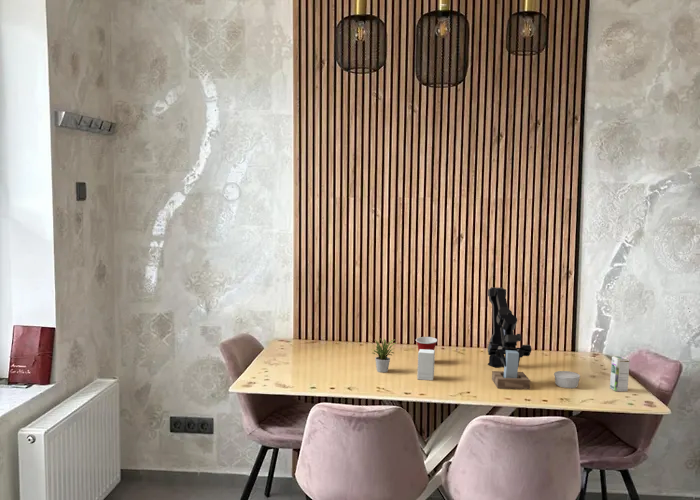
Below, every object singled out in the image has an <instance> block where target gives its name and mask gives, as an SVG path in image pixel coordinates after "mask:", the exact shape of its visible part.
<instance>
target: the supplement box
mask: <svg viewBox="0 0 700 500" xmlns="http://www.w3.org/2000/svg"><path fill="white" fill-rule="evenodd" d="M435 353H436V351H435V349H434V350H426V349H419V351H418V353H417V375H416V376H417V377H416V378H417V380H421V381H422V380H424V381H434V376H435V358H436V356H435Z"/></svg>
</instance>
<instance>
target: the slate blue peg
mask: <svg viewBox="0 0 700 500" xmlns="http://www.w3.org/2000/svg"><path fill="white" fill-rule="evenodd" d="M504 356H505V360H506V367H505V366H503V367H504V368H503V371H504V378H517V373H518V372H519V370H518V369H519V366H518V360H519V353H518V352H517V351H512V350H506V351H505V354H504Z"/></svg>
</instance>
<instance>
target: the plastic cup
mask: <svg viewBox="0 0 700 500" xmlns="http://www.w3.org/2000/svg"><path fill="white" fill-rule="evenodd" d="M415 341H416V344H417V350H418V352H419V349H426V350H435V349H436V345H437V342H438V339H437V338H436V337H432V336H422V337H421V336H419V337H417V338H416V339H415Z"/></svg>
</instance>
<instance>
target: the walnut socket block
mask: <svg viewBox="0 0 700 500" xmlns="http://www.w3.org/2000/svg"><path fill="white" fill-rule="evenodd" d="M491 381H492V382H493V384H494V385H495V386H496V389H500V390H501V389H504V390H505V389H506V390H530V389H531V379H530V378H529V377H528V376H527V374H525V373H524V372H523V371H518V373H517V378H504V370H503V371H501V370H500V371H499V370H498V371H497V370H496V371H495V370H493V371H491Z"/></svg>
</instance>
